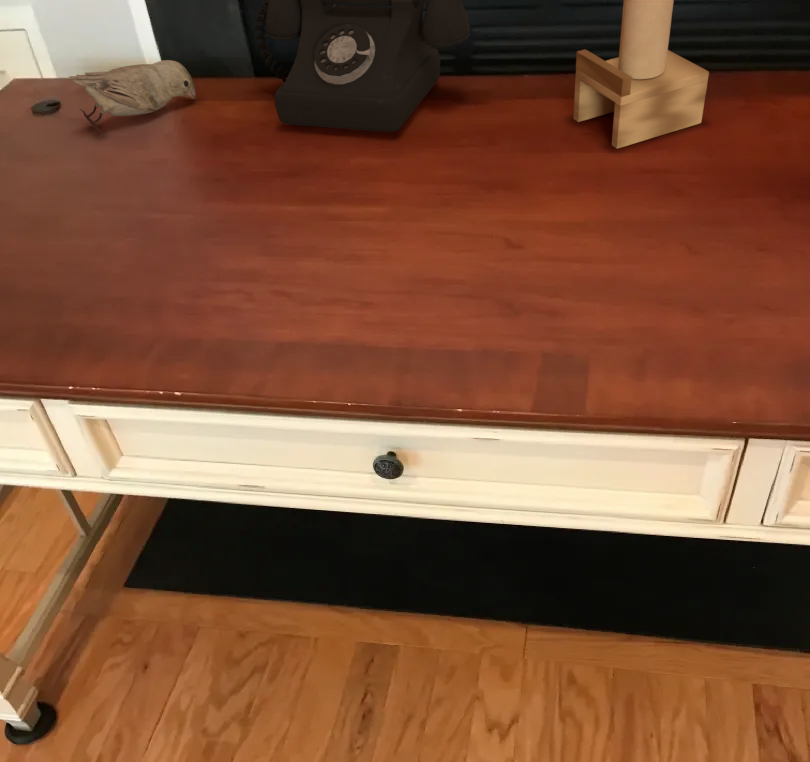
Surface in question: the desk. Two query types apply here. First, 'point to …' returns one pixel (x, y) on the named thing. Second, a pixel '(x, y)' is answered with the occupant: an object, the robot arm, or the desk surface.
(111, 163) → the desk surface
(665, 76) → the wooden stand
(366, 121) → the rotary telephone
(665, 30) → the candle
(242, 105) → the desk surface
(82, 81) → the decorative bird
